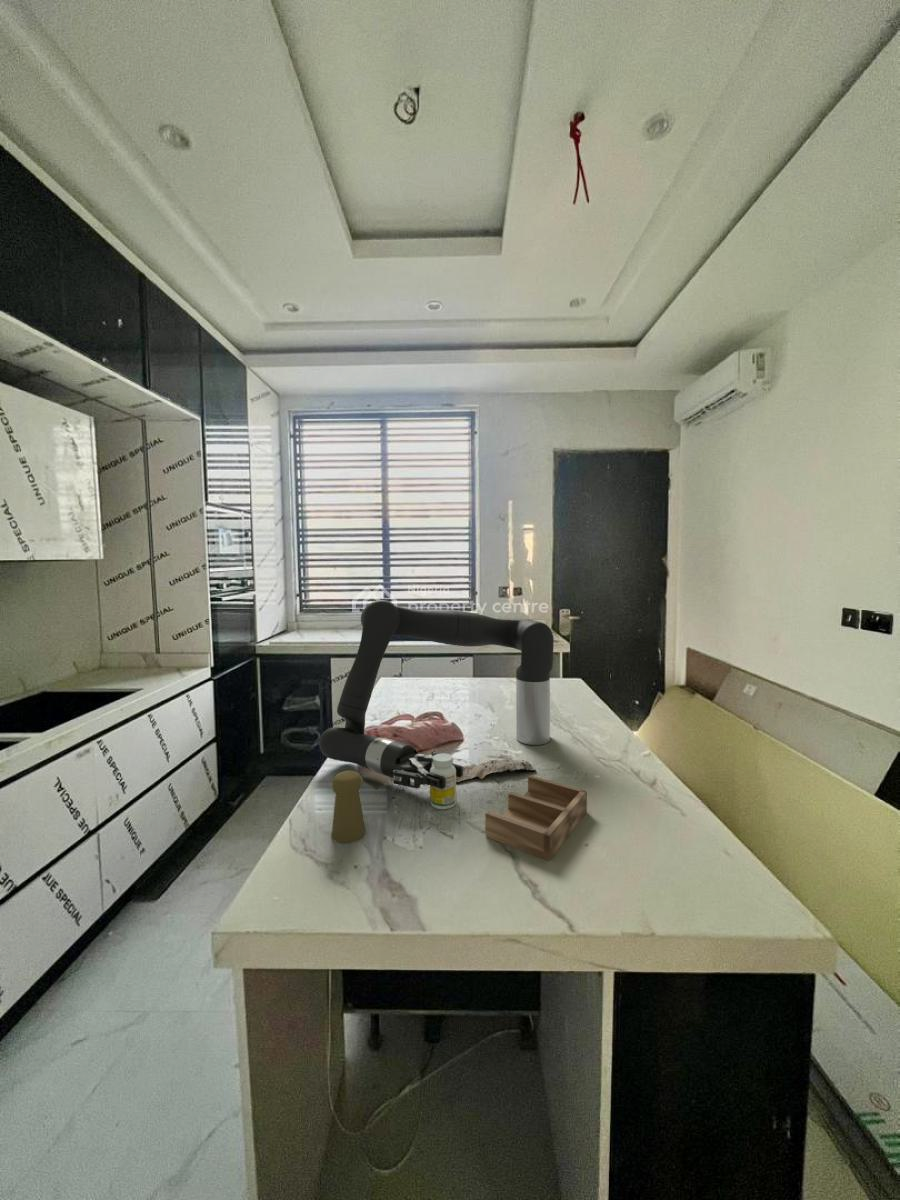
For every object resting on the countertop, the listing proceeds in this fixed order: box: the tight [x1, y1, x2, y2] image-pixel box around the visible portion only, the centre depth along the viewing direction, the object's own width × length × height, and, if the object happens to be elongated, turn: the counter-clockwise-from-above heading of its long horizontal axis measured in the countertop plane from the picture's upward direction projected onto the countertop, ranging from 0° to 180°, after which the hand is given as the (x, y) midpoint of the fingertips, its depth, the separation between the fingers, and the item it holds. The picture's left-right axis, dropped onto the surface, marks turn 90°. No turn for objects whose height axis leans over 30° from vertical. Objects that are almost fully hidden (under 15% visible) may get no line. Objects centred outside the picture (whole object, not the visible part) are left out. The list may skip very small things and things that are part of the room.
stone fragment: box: [456, 758, 537, 783], centre depth 104 cm, size 25×3×10 cm
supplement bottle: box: [429, 752, 457, 810], centre depth 90 cm, size 5×5×10 cm
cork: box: [331, 770, 367, 844], centre depth 80 cm, size 6×6×11 cm
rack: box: [484, 774, 588, 862], centre depth 83 cm, size 18×12×4 cm, turn 144°
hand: (453, 777), depth 89 cm, fingers closed on supplement bottle, 5 cm apart
